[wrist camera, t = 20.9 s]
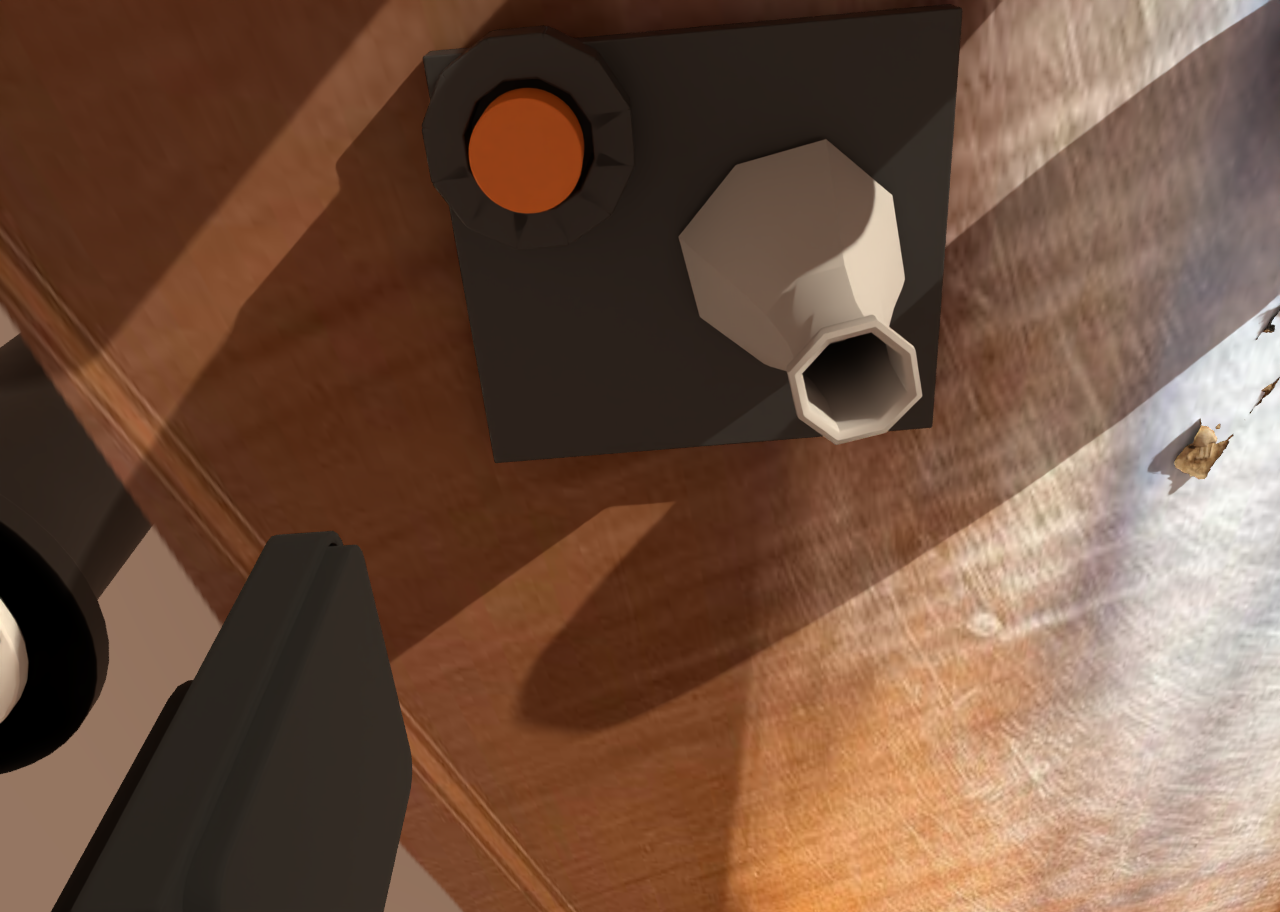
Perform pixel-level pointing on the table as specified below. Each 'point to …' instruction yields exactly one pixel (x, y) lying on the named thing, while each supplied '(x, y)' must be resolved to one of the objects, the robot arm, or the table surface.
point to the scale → (678, 215)
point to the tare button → (527, 150)
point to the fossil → (1209, 442)
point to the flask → (809, 285)
